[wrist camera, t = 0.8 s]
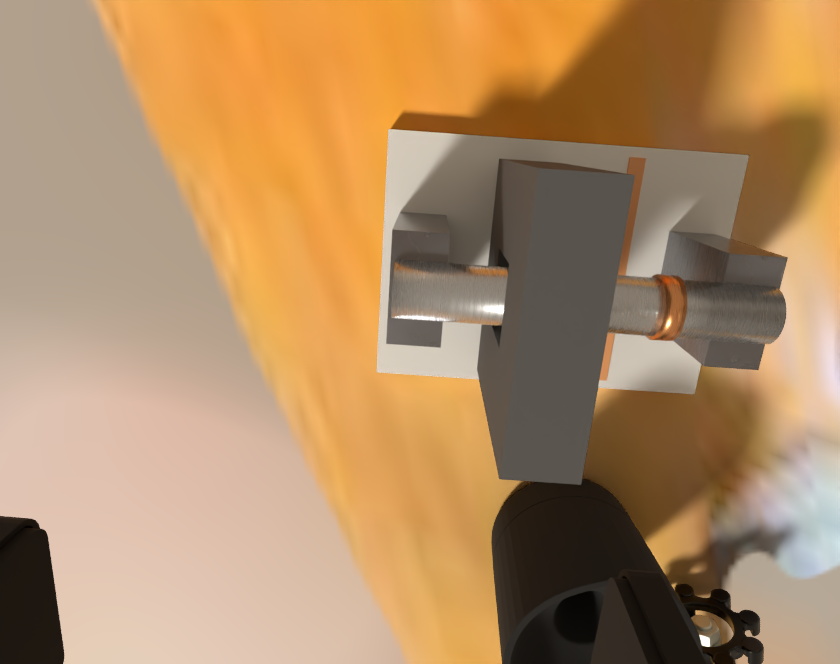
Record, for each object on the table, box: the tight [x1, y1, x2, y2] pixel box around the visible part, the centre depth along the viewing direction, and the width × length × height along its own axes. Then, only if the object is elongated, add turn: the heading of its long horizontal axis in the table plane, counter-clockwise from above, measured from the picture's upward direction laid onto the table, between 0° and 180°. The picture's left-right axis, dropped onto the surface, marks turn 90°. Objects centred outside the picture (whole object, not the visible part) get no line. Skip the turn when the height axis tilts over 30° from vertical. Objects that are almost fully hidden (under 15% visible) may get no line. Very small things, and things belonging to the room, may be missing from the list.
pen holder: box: [492, 479, 703, 664], centre depth 33 cm, size 9×9×10 cm
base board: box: [377, 129, 749, 394], centre depth 32 cm, size 18×13×1 cm
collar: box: [477, 159, 635, 485], centre depth 25 cm, size 3×11×11 cm, turn 176°
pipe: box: [386, 212, 787, 370], centre depth 28 cm, size 16×5×8 cm, turn 86°
